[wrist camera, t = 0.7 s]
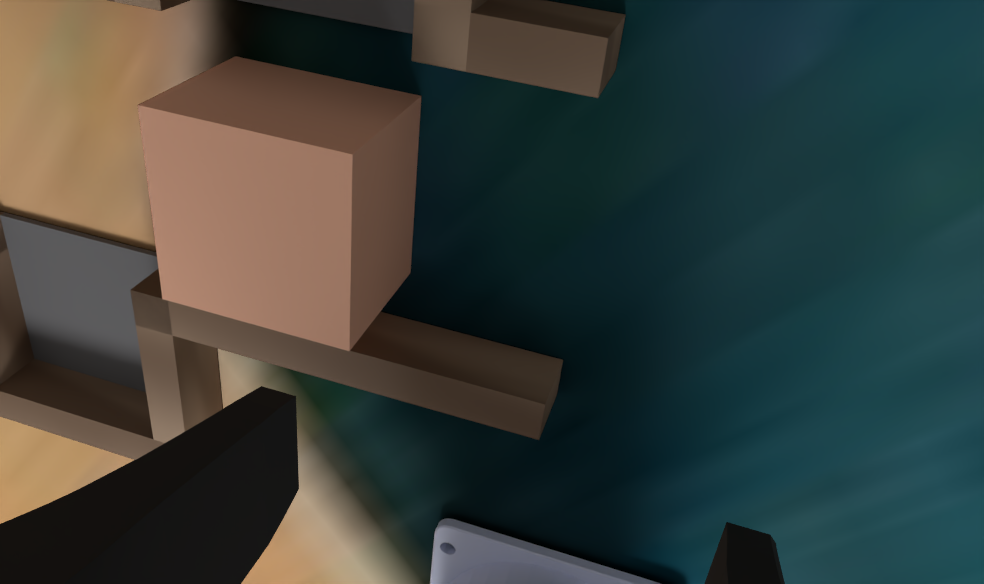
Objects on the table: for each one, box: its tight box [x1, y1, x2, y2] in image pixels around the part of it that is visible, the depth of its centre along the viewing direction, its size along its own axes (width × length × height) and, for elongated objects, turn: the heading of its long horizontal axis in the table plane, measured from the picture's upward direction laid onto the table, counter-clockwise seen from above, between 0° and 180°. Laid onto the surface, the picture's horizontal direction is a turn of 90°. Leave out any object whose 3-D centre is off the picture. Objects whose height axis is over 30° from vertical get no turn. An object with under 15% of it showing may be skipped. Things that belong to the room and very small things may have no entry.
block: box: [138, 56, 421, 351], centre depth 21 cm, size 5×5×4 cm
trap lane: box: [0, 0, 626, 460], centre depth 23 cm, size 22×31×3 cm
